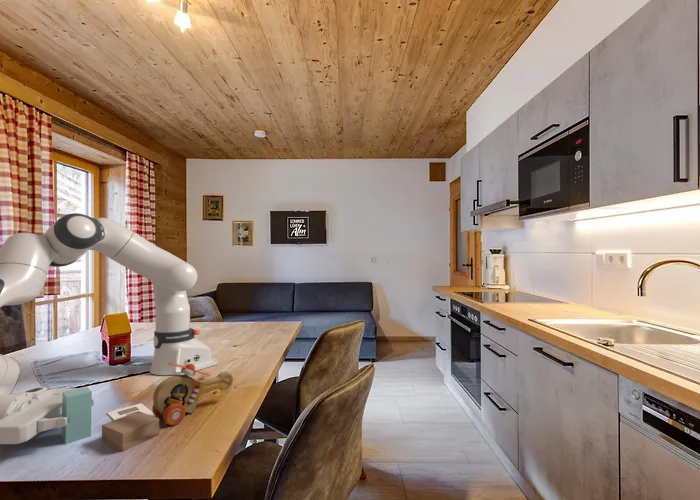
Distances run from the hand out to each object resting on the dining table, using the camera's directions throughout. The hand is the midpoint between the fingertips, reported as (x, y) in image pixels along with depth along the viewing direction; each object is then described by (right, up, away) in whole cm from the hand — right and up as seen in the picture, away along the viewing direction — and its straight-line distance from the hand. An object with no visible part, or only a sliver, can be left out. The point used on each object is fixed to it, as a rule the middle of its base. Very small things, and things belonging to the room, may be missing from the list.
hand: (81, 411), depth 80 cm
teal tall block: (-1, -5, 0) cm, 6 cm away
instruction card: (+5, -6, +11) cm, 13 cm away
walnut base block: (+12, -6, -1) cm, 13 cm away
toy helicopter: (+20, -6, +12) cm, 24 cm away
